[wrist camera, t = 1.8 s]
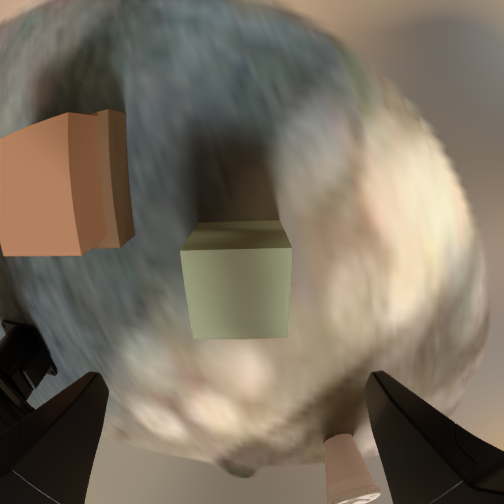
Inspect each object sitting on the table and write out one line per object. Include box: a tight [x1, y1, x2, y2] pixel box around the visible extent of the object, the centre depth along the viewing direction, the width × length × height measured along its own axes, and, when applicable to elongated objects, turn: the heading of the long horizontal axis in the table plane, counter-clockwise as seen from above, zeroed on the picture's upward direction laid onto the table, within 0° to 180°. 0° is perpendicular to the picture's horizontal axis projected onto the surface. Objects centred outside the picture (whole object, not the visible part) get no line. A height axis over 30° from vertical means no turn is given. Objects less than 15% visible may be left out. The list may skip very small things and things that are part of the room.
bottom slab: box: [87, 109, 135, 249], centre depth 14 cm, size 8×8×3 cm
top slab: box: [0, 112, 107, 256], centre depth 12 cm, size 7×7×3 cm
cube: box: [180, 220, 292, 339], centre depth 15 cm, size 5×5×5 cm
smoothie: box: [324, 434, 381, 504], centre depth 20 cm, size 6×6×14 cm
